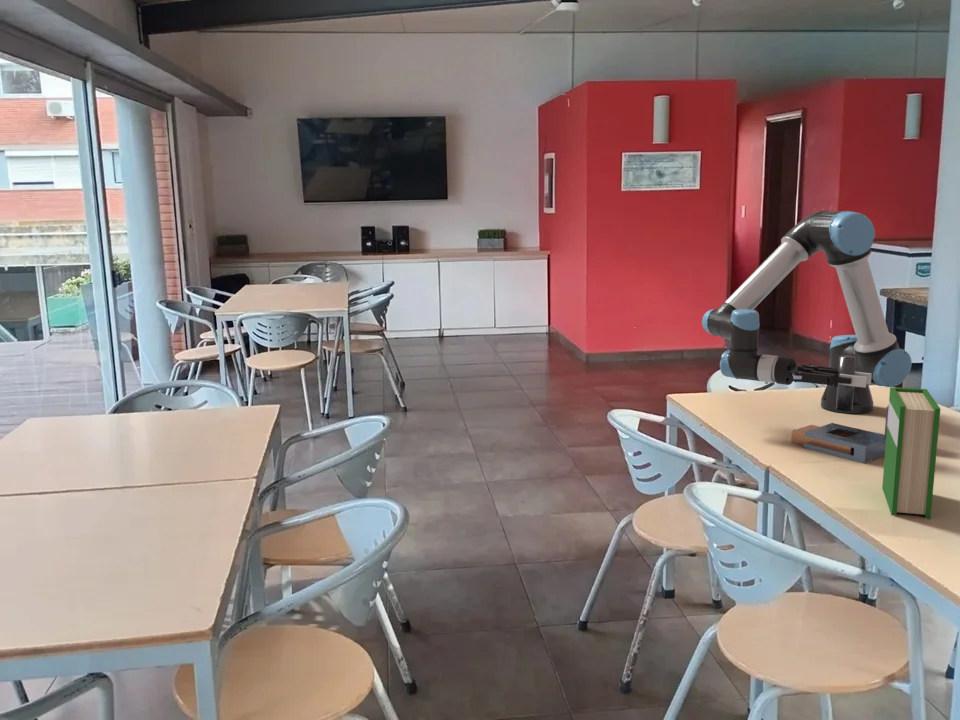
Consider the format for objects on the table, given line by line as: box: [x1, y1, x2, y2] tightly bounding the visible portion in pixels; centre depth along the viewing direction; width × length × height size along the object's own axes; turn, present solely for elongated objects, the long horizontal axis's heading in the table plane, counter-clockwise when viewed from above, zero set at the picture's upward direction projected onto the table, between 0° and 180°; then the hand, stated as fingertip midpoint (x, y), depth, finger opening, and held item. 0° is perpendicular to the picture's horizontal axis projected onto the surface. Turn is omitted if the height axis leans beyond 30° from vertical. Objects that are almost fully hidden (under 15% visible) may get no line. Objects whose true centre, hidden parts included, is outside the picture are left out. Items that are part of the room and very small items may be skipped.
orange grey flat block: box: [791, 422, 886, 464], centre depth 226 cm, size 22×13×4 cm, turn 37°
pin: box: [836, 355, 856, 411], centre depth 222 cm, size 4×4×14 cm
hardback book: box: [881, 386, 941, 520], centre depth 185 cm, size 18×7×24 cm, turn 161°
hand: (868, 380), depth 218 cm, fingers closed on pin, 4 cm apart
